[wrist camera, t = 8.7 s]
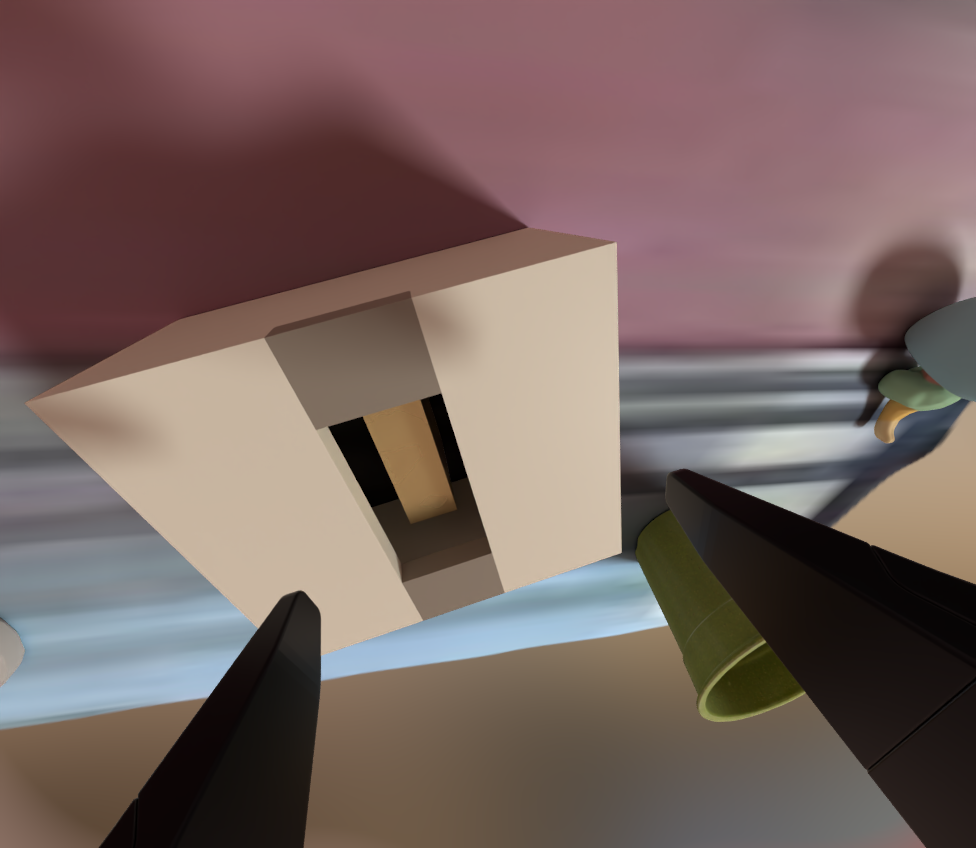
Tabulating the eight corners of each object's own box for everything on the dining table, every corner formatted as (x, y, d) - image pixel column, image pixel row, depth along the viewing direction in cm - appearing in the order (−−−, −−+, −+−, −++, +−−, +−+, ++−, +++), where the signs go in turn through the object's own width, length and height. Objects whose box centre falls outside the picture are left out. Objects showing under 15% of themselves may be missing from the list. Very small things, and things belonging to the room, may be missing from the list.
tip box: (528, 227, 17) (616, 242, 10) (559, 458, 25) (621, 552, 18) (178, 319, 16) (24, 403, 9) (322, 533, 24) (295, 664, 17)
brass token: (412, 346, 19) (419, 398, 14) (442, 440, 22) (457, 509, 17) (369, 357, 19) (361, 414, 14) (406, 450, 22) (410, 524, 17)
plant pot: (759, 487, 31) (918, 608, 22) (685, 581, 36) (789, 712, 27) (651, 471, 27) (787, 611, 18) (585, 578, 32) (664, 732, 23)
